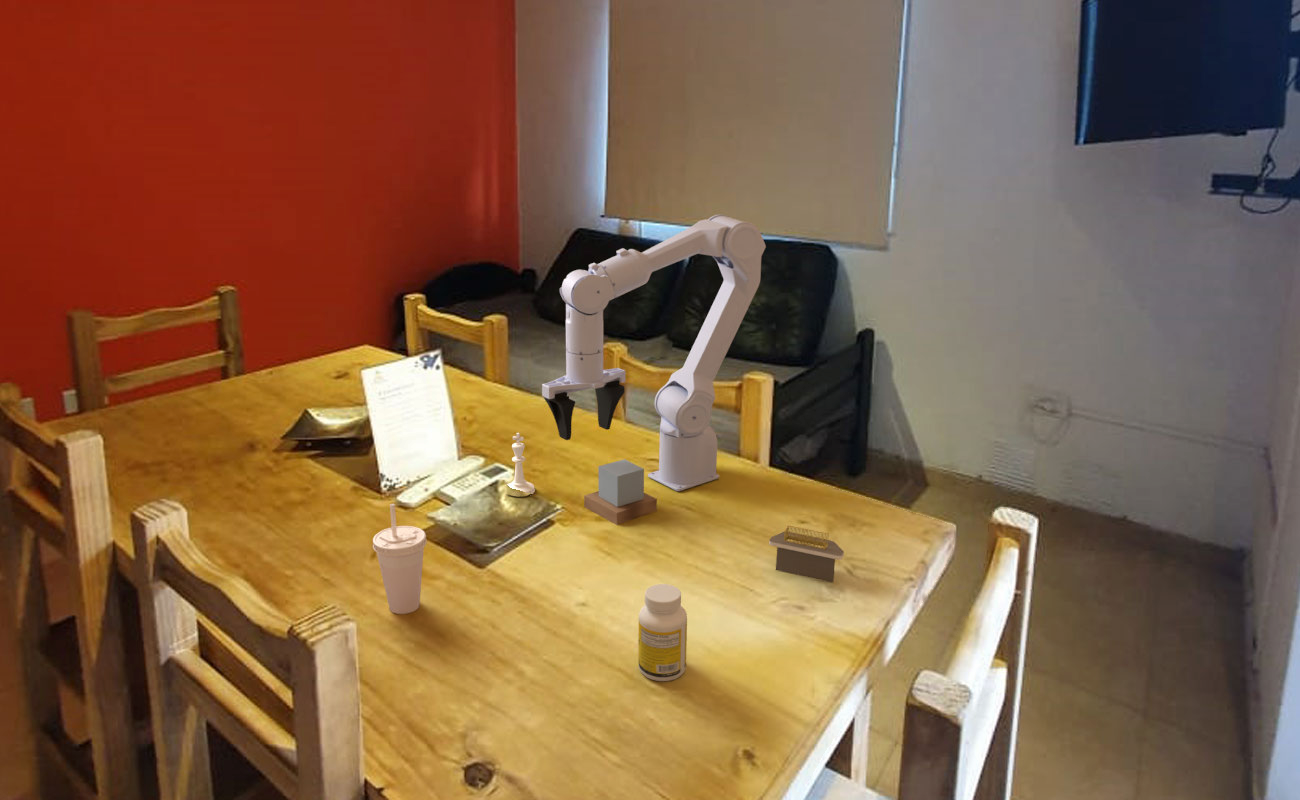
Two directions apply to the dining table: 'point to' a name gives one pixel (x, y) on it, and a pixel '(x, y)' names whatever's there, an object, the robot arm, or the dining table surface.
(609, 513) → the walnut block
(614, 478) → the slate cube
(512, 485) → the chess piece
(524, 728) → the dining table surface
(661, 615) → the supplement bottle
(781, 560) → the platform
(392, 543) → the smoothie
